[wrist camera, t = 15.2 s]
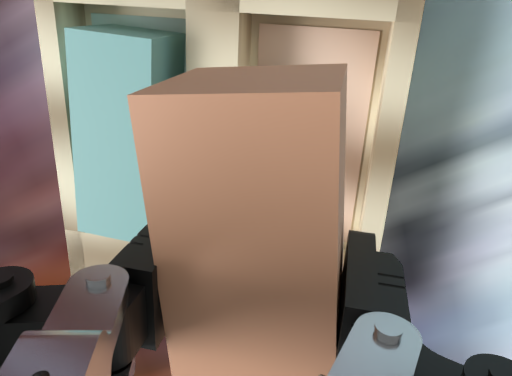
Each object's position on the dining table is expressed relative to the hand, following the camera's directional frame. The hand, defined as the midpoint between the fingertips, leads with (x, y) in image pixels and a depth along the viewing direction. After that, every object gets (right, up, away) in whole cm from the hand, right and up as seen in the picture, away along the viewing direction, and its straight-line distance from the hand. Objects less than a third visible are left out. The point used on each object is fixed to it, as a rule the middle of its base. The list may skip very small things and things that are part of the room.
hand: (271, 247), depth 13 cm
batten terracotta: (0, 0, +1) cm, 1 cm away
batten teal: (-6, +5, +11) cm, 14 cm away
